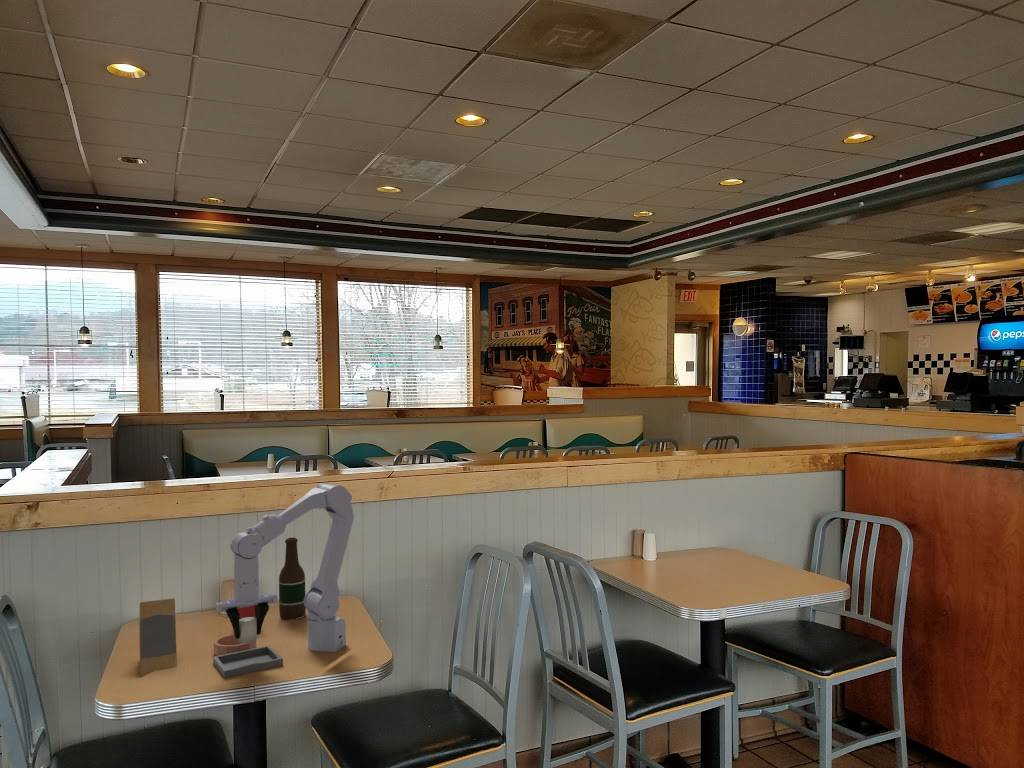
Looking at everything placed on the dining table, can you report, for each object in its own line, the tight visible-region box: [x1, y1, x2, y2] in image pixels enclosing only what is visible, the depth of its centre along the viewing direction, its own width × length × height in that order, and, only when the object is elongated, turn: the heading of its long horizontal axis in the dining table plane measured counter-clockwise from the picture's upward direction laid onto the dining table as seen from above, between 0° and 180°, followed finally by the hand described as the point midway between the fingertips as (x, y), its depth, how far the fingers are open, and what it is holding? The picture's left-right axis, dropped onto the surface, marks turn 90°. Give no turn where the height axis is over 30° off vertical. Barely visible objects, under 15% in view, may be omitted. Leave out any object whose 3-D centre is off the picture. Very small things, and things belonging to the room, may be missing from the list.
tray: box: [212, 645, 284, 679], centre depth 187 cm, size 14×12×3 cm
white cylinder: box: [238, 617, 258, 643], centre depth 187 cm, size 4×4×5 cm
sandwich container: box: [138, 598, 178, 678], centre depth 190 cm, size 9×15×15 cm, turn 26°
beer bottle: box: [278, 537, 307, 620], centre depth 230 cm, size 8×8×24 cm
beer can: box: [237, 606, 255, 619], centre depth 220 cm, size 7×7×12 cm
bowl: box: [213, 633, 258, 656], centre depth 197 cm, size 10×10×4 cm
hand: (247, 635), depth 187 cm, fingers closed on white cylinder, 4 cm apart
